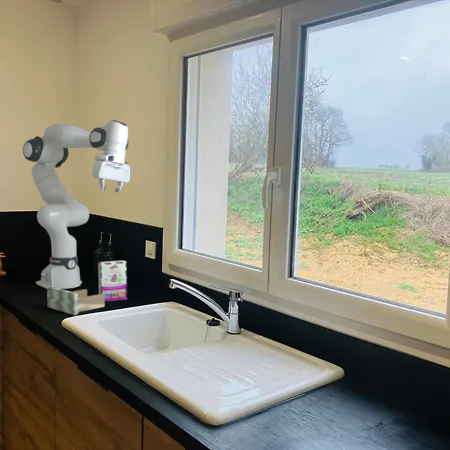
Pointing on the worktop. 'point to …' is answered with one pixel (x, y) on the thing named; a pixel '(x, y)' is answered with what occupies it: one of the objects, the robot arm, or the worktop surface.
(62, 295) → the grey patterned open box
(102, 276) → the candy bar box
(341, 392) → the worktop surface
